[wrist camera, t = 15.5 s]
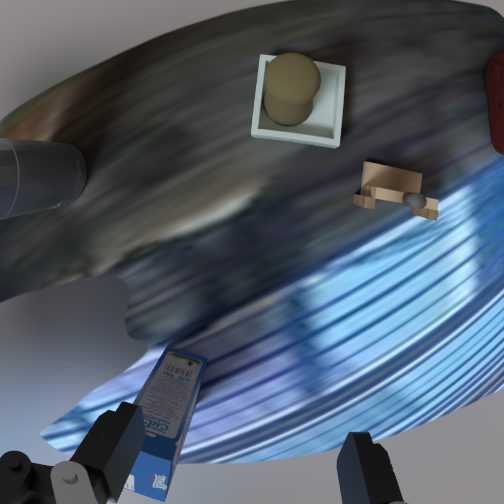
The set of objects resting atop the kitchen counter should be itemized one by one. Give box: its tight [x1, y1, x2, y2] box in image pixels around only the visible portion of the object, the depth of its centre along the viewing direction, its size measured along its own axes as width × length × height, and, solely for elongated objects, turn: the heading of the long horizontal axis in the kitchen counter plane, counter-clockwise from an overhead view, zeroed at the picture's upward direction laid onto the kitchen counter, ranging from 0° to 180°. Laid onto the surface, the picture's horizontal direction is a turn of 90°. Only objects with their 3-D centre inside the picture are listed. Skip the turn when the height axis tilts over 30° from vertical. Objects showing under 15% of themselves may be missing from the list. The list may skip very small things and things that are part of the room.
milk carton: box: [124, 346, 207, 502], centre depth 35 cm, size 10×6×20 cm, turn 165°
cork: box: [263, 53, 321, 127], centre depth 29 cm, size 6×6×11 cm
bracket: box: [353, 162, 439, 221], centre depth 32 cm, size 10×5×9 cm, turn 84°
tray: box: [251, 55, 346, 148], centre depth 34 cm, size 10×10×3 cm
